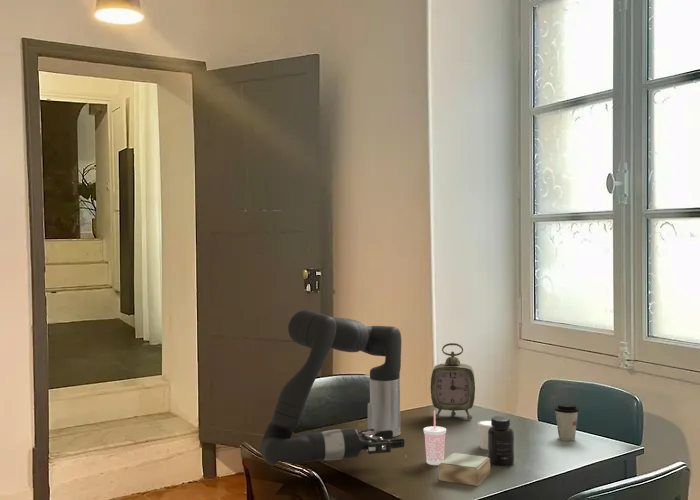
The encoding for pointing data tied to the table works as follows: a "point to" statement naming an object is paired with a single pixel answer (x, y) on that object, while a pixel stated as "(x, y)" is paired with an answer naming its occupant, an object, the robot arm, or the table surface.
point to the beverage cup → (434, 443)
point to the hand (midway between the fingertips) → (398, 438)
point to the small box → (464, 469)
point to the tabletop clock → (453, 385)
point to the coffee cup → (566, 421)
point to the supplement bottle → (501, 442)
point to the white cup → (484, 433)
